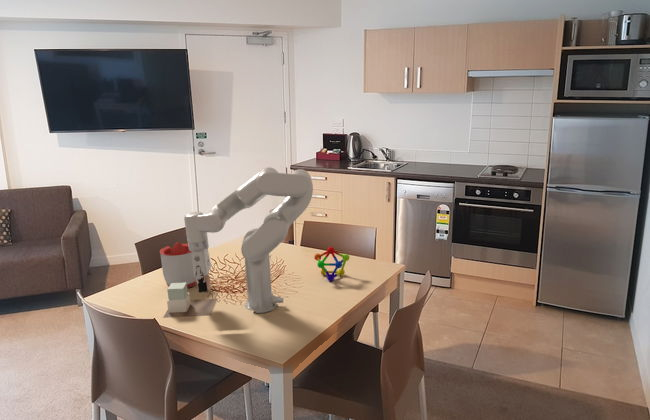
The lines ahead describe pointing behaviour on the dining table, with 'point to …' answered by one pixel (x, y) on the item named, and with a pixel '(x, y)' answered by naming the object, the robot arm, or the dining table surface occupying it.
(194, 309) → the serving board
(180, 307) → the cream block
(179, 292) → the sage block
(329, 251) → the educational toy
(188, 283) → the citrus juicer
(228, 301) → the dining table surface
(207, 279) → the pink domed cylinder
